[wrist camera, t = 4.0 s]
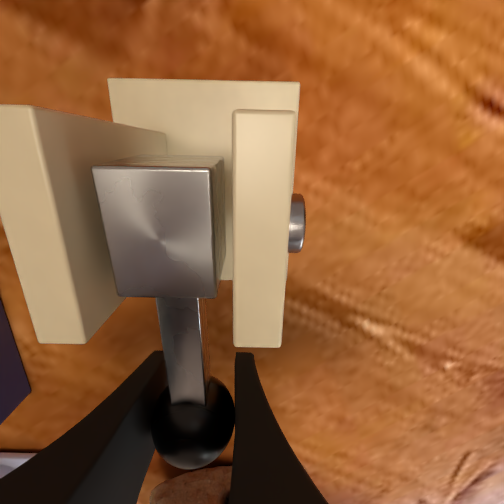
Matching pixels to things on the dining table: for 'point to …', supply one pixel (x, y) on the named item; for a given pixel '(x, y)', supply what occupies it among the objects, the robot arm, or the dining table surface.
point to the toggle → (173, 285)
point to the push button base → (10, 371)
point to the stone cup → (195, 487)
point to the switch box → (151, 143)
